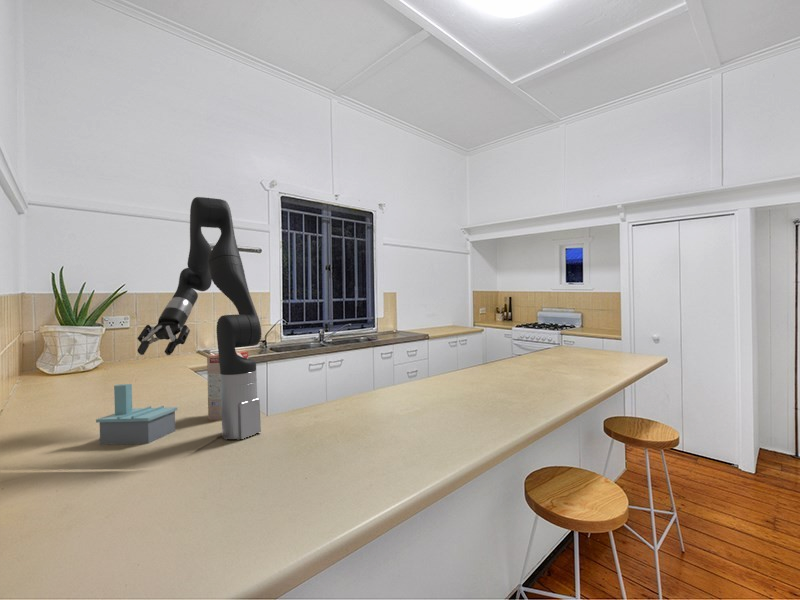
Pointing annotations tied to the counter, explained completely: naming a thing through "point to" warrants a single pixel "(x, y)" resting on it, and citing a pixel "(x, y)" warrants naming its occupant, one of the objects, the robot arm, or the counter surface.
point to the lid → (125, 408)
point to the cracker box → (216, 385)
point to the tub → (137, 430)
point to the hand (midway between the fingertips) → (153, 353)
